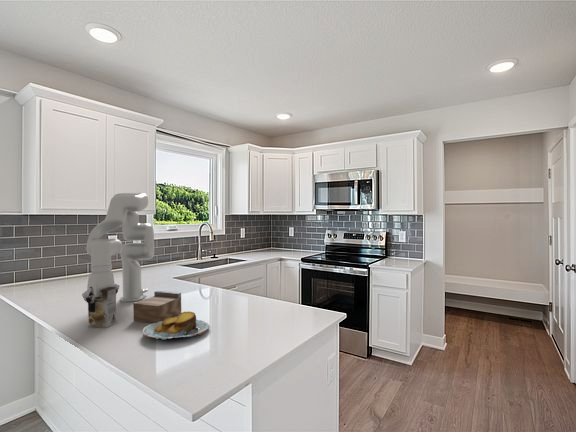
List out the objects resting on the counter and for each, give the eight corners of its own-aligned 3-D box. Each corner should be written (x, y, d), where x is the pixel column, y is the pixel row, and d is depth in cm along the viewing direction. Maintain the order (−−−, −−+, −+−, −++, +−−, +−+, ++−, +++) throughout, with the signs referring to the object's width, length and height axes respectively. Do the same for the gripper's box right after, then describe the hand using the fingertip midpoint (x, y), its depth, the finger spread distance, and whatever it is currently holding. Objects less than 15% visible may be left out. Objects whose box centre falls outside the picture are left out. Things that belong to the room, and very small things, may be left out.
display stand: (157, 311, 154) (157, 290, 154) (181, 313, 149) (181, 292, 149) (133, 321, 139) (133, 298, 139) (159, 324, 135) (158, 301, 135)
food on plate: (135, 331, 128) (135, 315, 128) (194, 318, 143) (194, 304, 143) (153, 352, 108) (152, 333, 108) (219, 334, 123) (219, 318, 123)
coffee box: (87, 327, 133) (86, 289, 133) (98, 322, 139) (97, 286, 139) (107, 327, 132) (106, 289, 132) (117, 322, 138) (116, 286, 138)
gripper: (112, 265, 144) (112, 302, 144) (75, 272, 128) (76, 314, 128) (124, 266, 142) (125, 304, 142) (89, 273, 126) (90, 315, 126)
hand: (102, 308), depth 135 cm, fingers open, 9 cm apart
